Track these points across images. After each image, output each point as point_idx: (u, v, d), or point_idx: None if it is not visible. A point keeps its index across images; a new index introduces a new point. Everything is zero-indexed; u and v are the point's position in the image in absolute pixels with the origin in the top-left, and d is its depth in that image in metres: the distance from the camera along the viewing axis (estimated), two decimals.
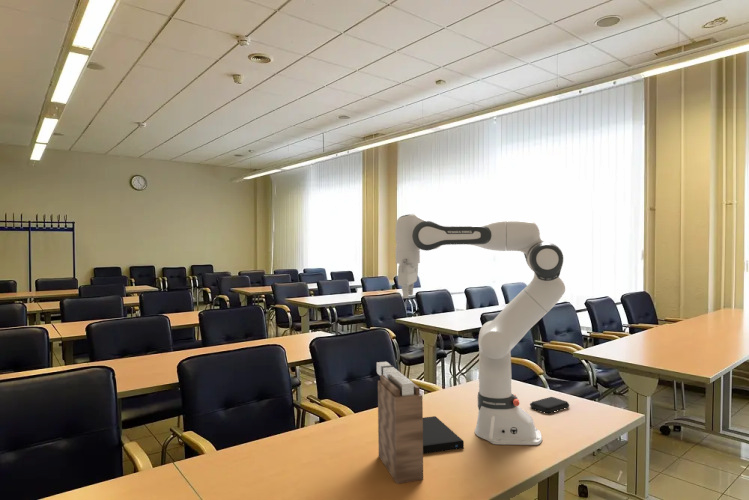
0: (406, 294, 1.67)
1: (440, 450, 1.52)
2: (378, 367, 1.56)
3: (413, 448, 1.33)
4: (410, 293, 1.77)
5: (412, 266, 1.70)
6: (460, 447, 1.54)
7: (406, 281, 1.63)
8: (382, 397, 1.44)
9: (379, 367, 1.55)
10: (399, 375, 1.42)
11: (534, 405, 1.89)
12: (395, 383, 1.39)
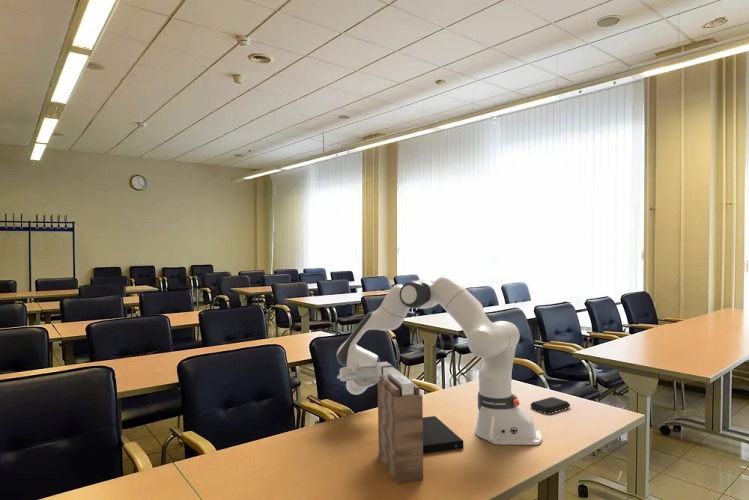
0: (354, 367, 1.73)
1: (440, 450, 1.52)
2: (378, 367, 1.56)
3: (413, 448, 1.33)
4: None
5: None
6: (460, 447, 1.54)
7: (340, 369, 1.76)
8: (382, 397, 1.44)
9: (379, 367, 1.55)
10: (399, 375, 1.42)
11: (535, 405, 1.89)
12: (395, 383, 1.39)
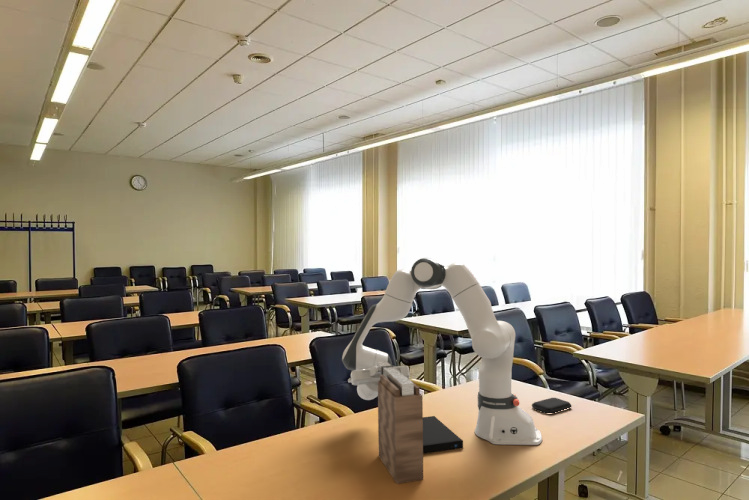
0: (374, 369, 1.55)
1: (440, 450, 1.52)
2: None
3: (413, 448, 1.33)
4: None
5: None
6: (459, 447, 1.54)
7: (351, 372, 1.58)
8: (382, 397, 1.44)
9: None
10: (399, 375, 1.42)
11: (536, 406, 1.88)
12: (395, 383, 1.39)
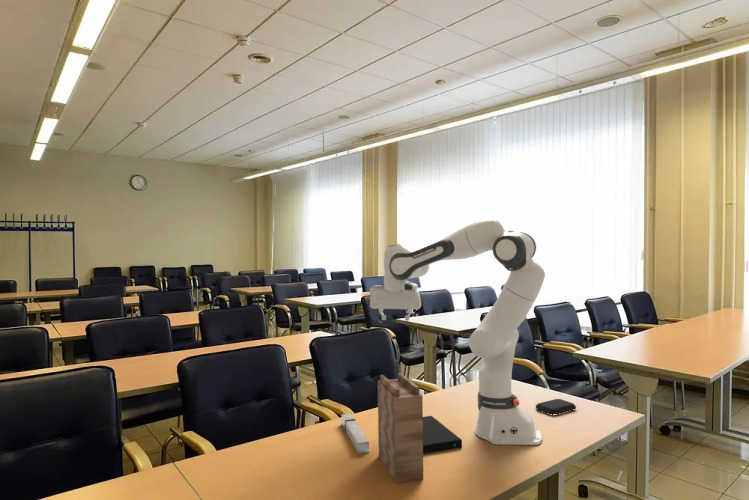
0: None
1: (439, 449, 1.52)
2: (343, 419, 1.74)
3: (413, 448, 1.33)
4: (405, 318, 1.85)
5: (388, 292, 1.85)
6: (458, 446, 1.55)
7: (370, 304, 1.87)
8: (382, 397, 1.44)
9: (343, 420, 1.73)
10: (358, 431, 1.60)
11: (539, 406, 1.87)
12: (354, 440, 1.57)
